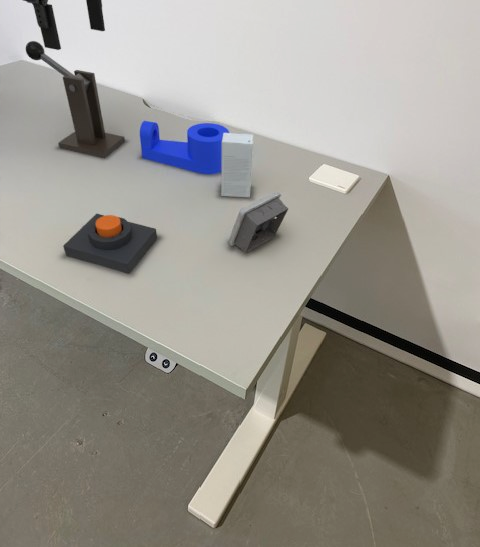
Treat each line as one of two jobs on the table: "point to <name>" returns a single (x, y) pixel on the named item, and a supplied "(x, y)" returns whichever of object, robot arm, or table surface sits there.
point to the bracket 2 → (185, 147)
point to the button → (108, 226)
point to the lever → (50, 60)
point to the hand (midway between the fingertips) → (76, 38)
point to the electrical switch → (258, 222)
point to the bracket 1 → (87, 119)
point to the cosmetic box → (236, 164)
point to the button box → (111, 245)
